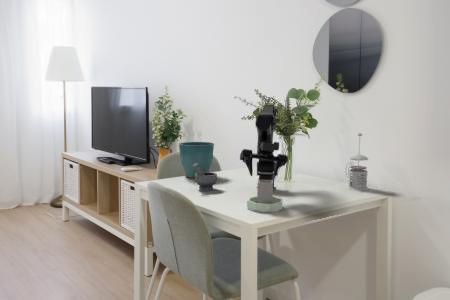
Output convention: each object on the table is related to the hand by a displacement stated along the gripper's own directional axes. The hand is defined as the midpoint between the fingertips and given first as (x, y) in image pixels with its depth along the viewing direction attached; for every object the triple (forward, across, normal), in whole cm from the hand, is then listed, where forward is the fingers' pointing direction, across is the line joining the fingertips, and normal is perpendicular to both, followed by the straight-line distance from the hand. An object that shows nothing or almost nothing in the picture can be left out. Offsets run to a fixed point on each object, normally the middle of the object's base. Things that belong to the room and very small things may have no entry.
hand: (262, 177), depth 180 cm
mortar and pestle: (-1, -20, +27) cm, 34 cm away
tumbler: (+13, 0, -5) cm, 14 cm away
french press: (-8, +47, +18) cm, 51 cm away
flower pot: (-17, -23, +54) cm, 61 cm away
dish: (+14, 0, -4) cm, 14 cm away
